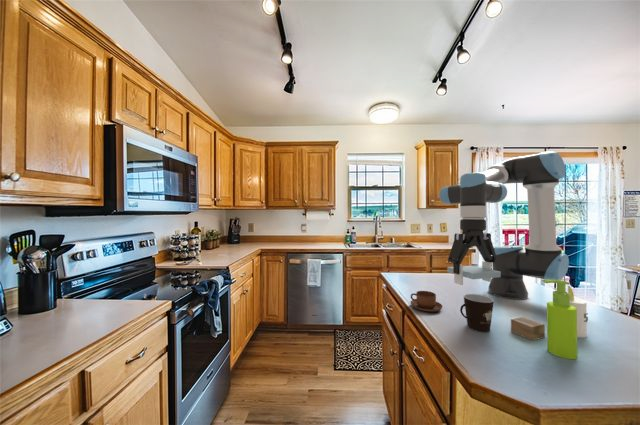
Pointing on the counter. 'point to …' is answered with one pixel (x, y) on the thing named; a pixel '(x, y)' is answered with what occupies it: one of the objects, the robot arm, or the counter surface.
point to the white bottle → (579, 314)
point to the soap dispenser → (561, 323)
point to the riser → (528, 328)
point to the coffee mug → (478, 312)
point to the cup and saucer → (426, 301)
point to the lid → (477, 272)
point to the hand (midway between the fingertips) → (473, 282)
